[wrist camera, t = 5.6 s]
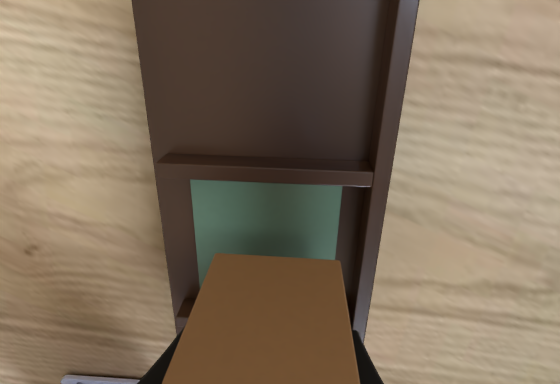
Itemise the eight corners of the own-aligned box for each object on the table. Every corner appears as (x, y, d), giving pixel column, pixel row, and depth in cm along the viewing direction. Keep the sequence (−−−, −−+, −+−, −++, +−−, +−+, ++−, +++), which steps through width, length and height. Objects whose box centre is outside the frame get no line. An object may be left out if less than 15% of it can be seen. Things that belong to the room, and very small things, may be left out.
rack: (204, 330, 23) (176, 414, 18) (174, -13, 15) (107, -39, 10) (339, 338, 23) (350, 427, 18) (382, -10, 15) (425, -35, 10)
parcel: (221, 363, 14) (176, 541, 9) (214, 251, 12) (150, 406, 7) (327, 370, 14) (340, 557, 9) (340, 259, 12) (367, 423, 7)
